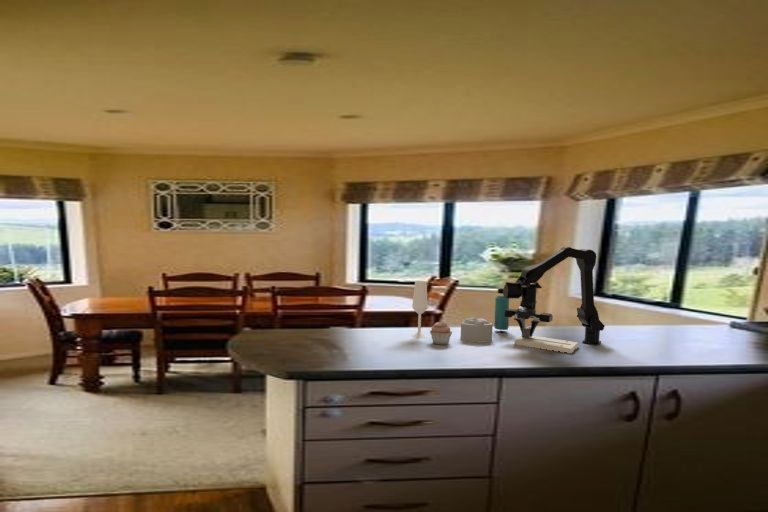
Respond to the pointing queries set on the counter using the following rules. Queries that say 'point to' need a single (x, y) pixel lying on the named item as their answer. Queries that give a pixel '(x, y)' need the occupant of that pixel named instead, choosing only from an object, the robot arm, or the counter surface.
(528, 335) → the block
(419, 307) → the champagne flute
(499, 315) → the beverage bottle
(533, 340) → the panel
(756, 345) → the counter surface
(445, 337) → the cupcake
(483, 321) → the lumpy-topped squat cylinder
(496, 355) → the counter surface
